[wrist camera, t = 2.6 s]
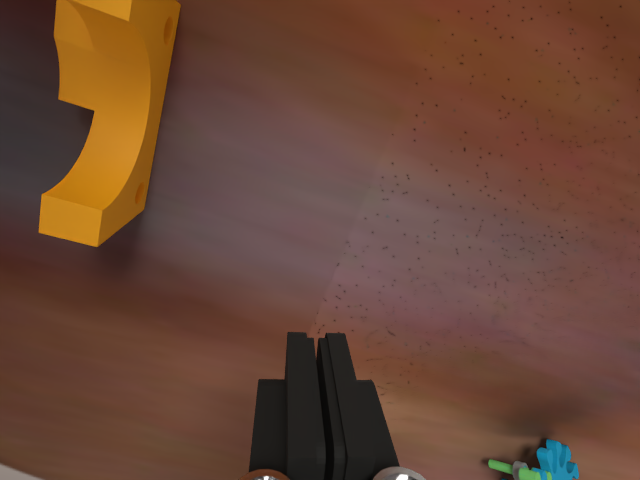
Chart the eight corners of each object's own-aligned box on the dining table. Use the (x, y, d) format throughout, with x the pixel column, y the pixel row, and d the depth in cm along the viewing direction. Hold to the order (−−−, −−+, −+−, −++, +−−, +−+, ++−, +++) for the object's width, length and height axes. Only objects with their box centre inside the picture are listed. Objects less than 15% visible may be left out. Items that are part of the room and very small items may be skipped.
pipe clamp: (96, -28, 19) (8, -86, 13) (181, 5, 20) (136, -35, 14) (72, 188, 23) (-4, 222, 17) (144, 208, 23) (97, 247, 17)
